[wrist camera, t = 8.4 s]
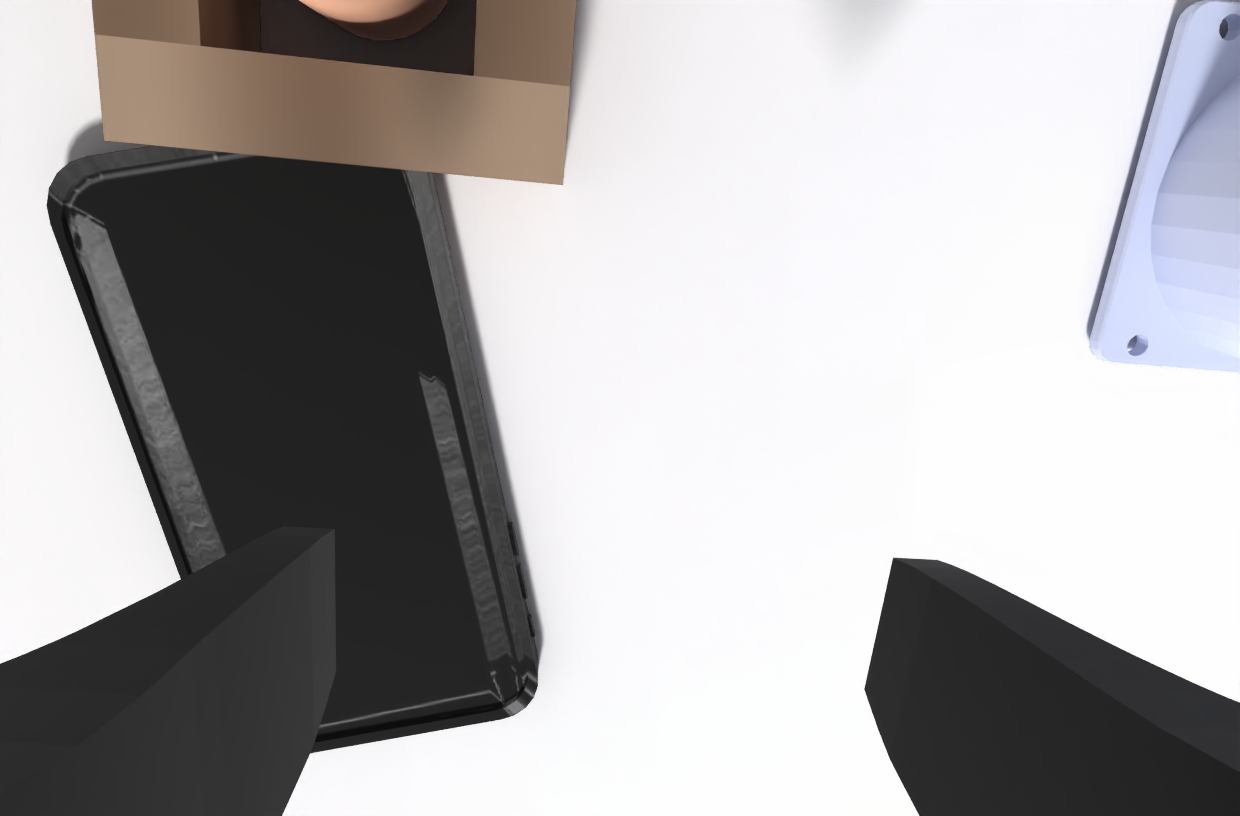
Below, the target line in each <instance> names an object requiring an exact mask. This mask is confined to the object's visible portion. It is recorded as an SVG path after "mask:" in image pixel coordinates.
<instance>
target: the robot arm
mask: <svg viewBox="0 0 1240 816" xmlns="http://www.w3.org/2000/svg"><path fill="white" fill-rule="evenodd" d="M1224 18H1225V19H1226V21H1227V23H1228V32H1227V34H1226V36H1225V38H1224V39H1222V37H1221V35H1220V33H1219V29H1220V24H1221V22H1222V20H1223V19H1224ZM1135 335H1136V336H1137V343H1136V345H1135V347H1134V348H1133V349H1132V350H1130V351H1129V352H1128V351H1127V344H1128V343H1129V341H1130V339H1131V338H1133V337H1134V336H1135ZM1089 348H1090V351H1091V354H1092V355H1093V356H1094V357H1096V358H1097V359H1099V360H1102V361H1105V362H1108V363H1111V364H1123V365H1136V366H1148V367H1161V368H1173V369H1186V370H1198V371H1211V372H1223V373H1236V374H1240V2H1234V1H1226V0H1204V1H1200V2H1196V3H1194V4H1192V5H1190V6H1188V7H1187V8H1186V9H1185V10H1184V11H1183V12H1182V14H1181V15H1180V17H1179V19H1178V21H1177V23H1176V27H1175V30H1174V34H1173V38H1172V41H1171V45H1170V49H1169V52H1168V56H1167V59H1166V63H1165V67H1164V70H1163V74H1162V78H1161V81H1160V85H1159V89H1158V92H1157V96H1156V100H1155V103H1154V107H1153V110H1152V114H1151V118H1150V121H1149V125H1148V129H1147V132H1146V136H1145V140H1144V143H1143V147H1142V151H1141V154H1140V158H1139V161H1138V165H1137V169H1136V172H1135V176H1134V180H1133V183H1132V187H1131V191H1130V194H1129V198H1128V201H1127V205H1126V209H1125V212H1124V216H1123V220H1122V223H1121V227H1120V231H1119V234H1118V238H1117V242H1116V245H1115V249H1114V252H1113V256H1112V260H1111V263H1110V267H1109V271H1108V274H1107V278H1106V282H1105V285H1104V289H1103V293H1102V296H1101V300H1100V303H1099V307H1098V311H1097V314H1096V318H1095V322H1094V325H1093V329H1092V333H1091V336H1090V342H1089ZM335 673H336V610H335V529H327V528H308V527H288V526H283V527H281V528H278V529H276V530H273V531H271V532H269V533H267V534H265V535H263V536H261V537H259V538H257V539H255V540H253V541H251V542H249V543H247V544H246V545H244V546H242V547H240V548H238V549H236V550H234V551H233V552H231V553H229V554H227V555H225V556H223V557H222V558H220V559H218V560H216V561H214V562H212V563H211V564H209V565H207V566H205V567H203V568H201V569H199V570H198V571H196V572H194V573H192V574H190V575H188V576H186V577H185V578H183V579H181V580H179V581H177V582H175V583H173V584H172V585H170V586H168V587H166V588H164V589H162V590H160V591H158V592H156V593H154V594H152V595H150V596H148V597H146V598H144V599H142V600H140V601H138V602H136V603H134V604H132V605H130V606H128V607H126V608H124V609H122V610H120V611H118V612H116V613H113V614H111V615H109V616H107V617H105V618H103V619H101V620H99V621H97V622H95V623H93V624H91V625H89V626H87V627H85V628H83V629H81V630H79V631H77V632H74V633H72V634H70V635H68V636H66V637H63V638H61V639H59V640H57V641H54V642H52V643H50V644H47V645H45V646H43V647H40V648H38V649H36V650H33V651H31V652H29V653H26V654H24V655H21V656H19V657H16V658H14V659H11V660H9V661H6V662H4V663H1V664H0V816H282V814H283V812H284V810H285V808H286V806H287V803H288V801H289V799H290V797H291V795H292V792H293V790H294V788H295V786H296V783H297V781H298V779H299V777H300V775H301V772H302V770H303V768H304V766H305V763H306V761H307V759H308V757H309V754H310V752H311V750H312V747H313V745H314V742H315V739H316V736H317V733H318V730H319V727H320V723H321V720H322V717H323V714H324V711H325V707H326V704H327V701H328V697H329V694H330V690H331V687H332V683H333V680H334V677H335ZM865 692H866V695H867V698H868V701H869V704H870V707H871V710H872V713H873V715H874V718H875V721H876V724H877V727H878V730H879V732H880V735H881V737H882V740H883V742H884V745H885V748H886V750H887V753H888V755H889V758H890V760H891V762H892V764H893V766H894V768H895V770H896V772H897V774H898V776H899V778H900V780H901V781H902V783H903V785H904V787H905V789H906V791H907V793H908V795H909V797H910V798H911V800H912V802H913V804H914V806H915V808H916V810H917V812H918V814H919V816H1240V703H1239V702H1237V701H1234V700H1232V699H1229V698H1227V697H1224V696H1222V695H1220V694H1217V693H1215V692H1213V691H1210V690H1208V689H1206V688H1204V687H1201V686H1199V685H1197V684H1194V683H1192V682H1190V681H1188V680H1185V679H1183V678H1181V677H1179V676H1177V675H1175V674H1173V673H1171V672H1168V671H1166V670H1164V669H1162V668H1160V667H1158V666H1156V665H1154V664H1151V663H1149V662H1147V661H1145V660H1143V659H1141V658H1139V657H1136V656H1134V655H1132V654H1130V653H1128V652H1126V651H1124V650H1122V649H1120V648H1118V647H1116V646H1114V645H1112V644H1110V643H1108V642H1106V641H1104V640H1102V639H1100V638H1098V637H1096V636H1094V635H1092V634H1090V633H1088V632H1086V631H1084V630H1082V629H1080V628H1078V627H1076V626H1074V625H1072V624H1070V623H1068V622H1066V621H1064V620H1062V619H1061V618H1059V617H1057V616H1055V615H1053V614H1051V613H1049V612H1047V611H1045V610H1043V609H1041V608H1039V607H1037V606H1035V605H1033V604H1032V603H1030V602H1028V601H1026V600H1024V599H1022V598H1020V597H1018V596H1016V595H1014V594H1012V593H1010V592H1008V591H1006V590H1004V589H1002V588H1000V587H998V586H996V585H994V584H992V583H990V582H988V581H986V580H984V579H982V578H980V577H978V576H976V575H974V574H971V573H969V572H967V571H965V570H962V569H960V568H958V567H955V566H953V565H950V564H947V563H944V562H942V561H939V560H926V559H907V558H893V561H892V566H891V570H890V575H889V579H888V584H887V589H886V593H885V598H884V602H883V607H882V611H881V616H880V621H879V625H878V630H877V634H876V639H875V643H874V648H873V653H872V657H871V662H870V666H869V671H868V675H867V680H866V685H865Z"/></svg>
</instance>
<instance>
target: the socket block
mask: <svg viewBox="0 0 1240 816" xmlns="http://www.w3.org/2000/svg"><path fill="white" fill-rule="evenodd" d="M92 10H93V21H94V32H95V44H96V55H97V66H98V77H99V89H100V100H101V111H102V123H103V134H104V141H115V142H125V143H135V144H146V145H156V146H166V147H177V148H187V149H197V150H207V151H218V152H228V153H238V154H249V155H259V156H269V157H280V158H290V159H300V160H311V161H321V162H331V163H341V164H352V165H362V166H372V167H383V168H393V169H403V170H414V171H424V172H434V173H445V174H455V175H465V176H475V177H486V178H496V179H506V180H517V181H527V182H537V183H548V184H558V185H563V178H564V164H565V151H566V137H567V123H568V109H569V96H570V82H571V68H572V54H573V41H574V27H575V13H576V0H477V6H476V31H475V57H474V76H470V75H461V74H452V73H442V72H433V71H424V70H415V69H406V68H397V67H388V66H379V65H369V64H360V63H351V62H342V61H333V60H324V59H315V58H306V57H297V56H287V55H278V54H269V53H261V33H260V2H259V0H92Z"/></svg>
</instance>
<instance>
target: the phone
mask: <svg viewBox="0 0 1240 816" xmlns="http://www.w3.org/2000/svg"><path fill="white" fill-rule="evenodd" d="M47 209H48V214H49V219H50V224H51V227H52V229H53V232H54V235H55V238H56V240H57V243H58V246H59V248H60V251H61V254H62V257H63V259H64V262H65V265H66V267H67V270H68V273H69V276H70V278H71V281H72V284H73V287H74V289H75V292H76V295H77V297H78V300H79V303H80V306H81V308H82V311H83V314H84V317H85V319H86V322H87V325H88V327H89V330H90V333H91V336H92V338H93V341H94V344H95V347H96V349H97V352H98V355H99V357H100V360H101V363H102V366H103V368H104V371H105V374H106V376H107V379H108V382H109V385H110V387H111V390H112V393H113V396H114V398H115V401H116V404H117V406H118V409H119V412H120V415H121V417H122V420H123V423H124V426H125V428H126V431H127V434H128V436H129V439H130V442H131V445H132V447H133V450H134V453H135V455H136V458H137V461H138V464H139V466H140V469H141V472H142V475H143V477H144V480H145V483H146V485H147V488H148V491H149V494H150V496H151V499H152V502H153V505H154V507H155V510H156V513H157V515H158V518H159V521H160V524H161V526H162V529H163V532H164V535H165V537H166V540H167V543H168V545H169V548H170V551H171V554H172V556H173V559H174V562H175V564H176V567H177V570H178V573H179V575H180V578H181V579H183V578H185V577H186V576H188V575H190V574H192V573H194V572H196V571H198V570H199V569H201V568H203V567H205V566H207V565H209V564H211V563H212V562H214V561H216V560H218V559H220V558H222V557H223V556H225V555H227V554H229V553H231V552H233V551H234V550H236V549H238V548H240V547H242V546H244V545H246V544H247V543H249V542H251V541H253V540H255V539H257V538H259V537H261V536H263V535H265V534H267V533H269V532H271V531H273V530H276V529H278V528H281V527H283V526H288V527H308V528H327V529H335V610H336V673H335V677H334V680H333V683H332V687H331V690H330V694H329V697H328V701H327V704H326V707H325V711H324V714H323V717H322V720H321V723H320V727H319V730H318V733H317V736H316V739H315V742H314V745H313V747H312V750H311V752H310V753H314V752H319V751H325V750H331V749H336V748H342V747H348V746H353V745H359V744H365V743H370V742H376V741H382V740H387V739H393V738H399V737H404V736H410V735H416V734H421V733H427V732H432V731H438V730H444V729H449V728H455V727H461V726H466V725H472V724H478V723H483V722H489V721H495V720H500V719H504V718H507V717H510V716H513V715H515V714H517V713H518V712H520V711H521V710H523V709H524V708H526V707H527V705H528V704H529V703H530V702H531V700H532V699H533V698H534V695H535V692H536V689H537V687H538V654H537V650H536V645H535V641H534V636H535V631H534V626H533V622H532V617H531V614H529V613H528V608H527V604H526V599H527V591H526V586H525V582H524V577H523V572H522V568H521V563H518V562H517V558H516V555H519V550H518V546H517V541H516V536H515V532H514V527H513V523H512V522H510V523H509V521H508V516H507V512H506V507H505V503H504V498H503V493H502V489H501V484H500V480H499V475H498V470H497V466H496V461H495V457H494V452H493V447H492V443H491V438H490V434H489V429H488V424H487V420H486V415H485V410H484V406H483V401H482V397H481V392H480V387H479V383H478V378H477V374H476V369H475V364H474V360H473V355H472V351H471V346H470V341H469V337H468V332H467V328H466V323H465V318H464V314H463V309H462V305H461V300H460V295H459V291H458V286H457V282H456V277H455V272H454V268H453V263H452V259H451V254H450V249H449V245H448V240H447V236H446V231H445V226H444V222H443V217H442V213H441V208H440V203H439V199H438V194H437V190H436V185H435V180H434V176H433V172H424V171H414V170H403V169H393V168H383V167H372V166H362V165H352V164H341V163H331V162H321V161H311V160H300V159H290V158H280V157H269V156H259V155H249V154H238V153H228V152H218V151H207V150H197V149H187V148H177V147H166V146H156V145H155V146H148V147H142V148H136V149H129V150H123V151H117V152H111V153H104V154H98V155H92V156H86V157H83V158H80V159H78V160H75V161H72V162H70V163H68V164H67V165H66V166H65V167H64V168H62V169H61V170H60V171H59V172H58V173H57V174H56V176H55V178H54V180H53V182H52V183H51V185H50V187H49V192H48V200H47Z"/></svg>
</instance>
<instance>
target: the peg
mask: <svg viewBox="0 0 1240 816" xmlns="http://www.w3.org/2000/svg"><path fill="white" fill-rule="evenodd" d="M299 1H301V2H302V3H304V4H305V5H307V6H308V7H310V8H312V9H313V10H315V11H316V12H318V13H319V14H321V15H323V16H324V17H326V18H327V19H329V20H330V21H332V22H334V23H335V24H337V25H338V26H340V27H342V28H343V29H345V30H346V31H349V32H351V33H353V34H355V35H358V36H361V37H364V38H369V39H374V40H394V39H400V38H404V37H407V36H410V35H412V34H415V33H417V32H418V31H420V30H422V29H423V28H425V27H426V26H428V25H429V24H430V23H431V22H432V21H433V20H434V19H435V18H436V17H437V16H438V15H439V14H440V13H441V11H442V10H443V8H444V7H445V5H446V4H447V2H448V0H299Z"/></svg>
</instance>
